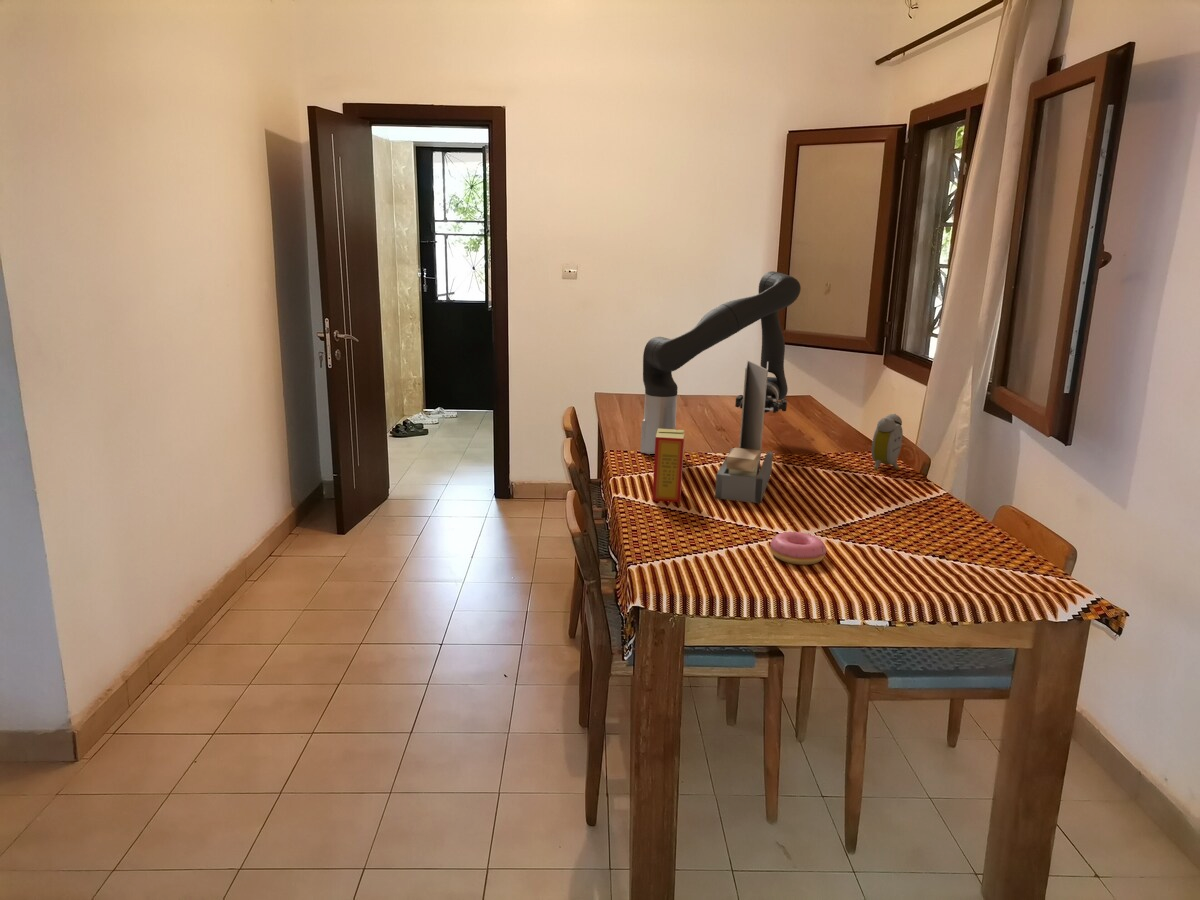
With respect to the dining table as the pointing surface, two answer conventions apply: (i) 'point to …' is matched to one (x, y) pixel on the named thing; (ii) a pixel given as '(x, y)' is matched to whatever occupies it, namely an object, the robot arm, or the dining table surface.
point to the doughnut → (798, 548)
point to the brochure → (753, 407)
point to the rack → (743, 483)
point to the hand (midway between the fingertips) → (758, 407)
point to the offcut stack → (743, 462)
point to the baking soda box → (668, 465)
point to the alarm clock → (887, 441)
